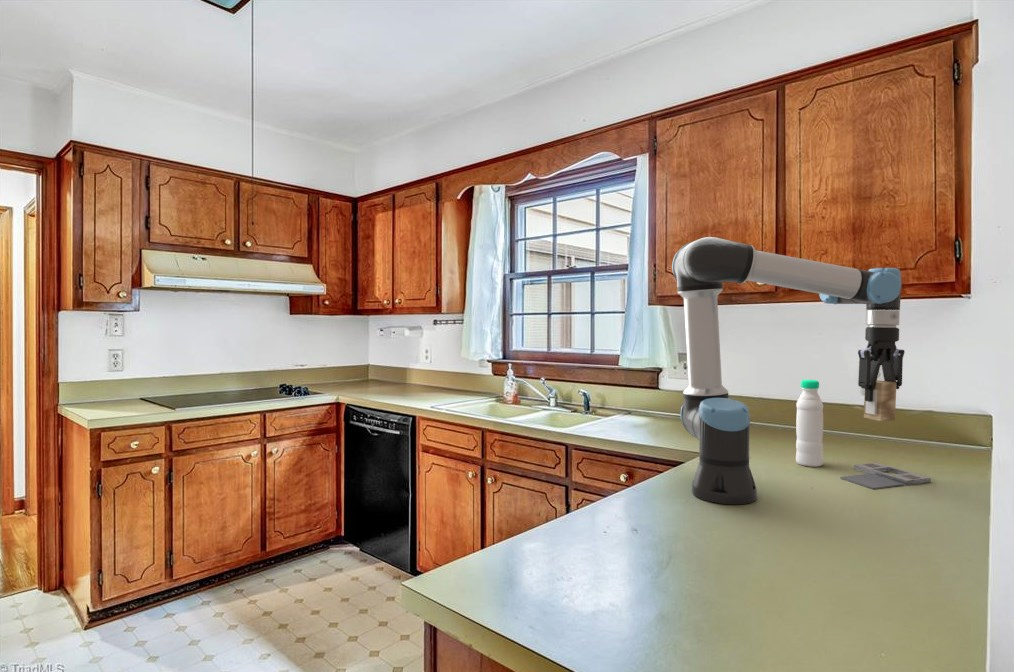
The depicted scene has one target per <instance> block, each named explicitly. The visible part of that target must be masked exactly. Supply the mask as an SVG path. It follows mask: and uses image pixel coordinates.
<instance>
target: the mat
mask: <svg viewBox="0 0 1014 672" xmlns="http://www.w3.org/2000/svg"><path fill="white" fill-rule="evenodd" d="M840 479H841V480H844V481H847V482H851V483H853V484H856V485H859V486H862V487H865V488H868V489H869V490H870V489H871V490H878V489H879V490H880V489H887V488H888V489H889V488H895V487H904V486H905V485H904V484H902V483H899V482H895V481H892V480H889V479H886V478H882V477H879V476H876V475H873V474H869V473H866V474H865V473H864V474H863V473H862V474H854V475H846V476H840Z"/></svg>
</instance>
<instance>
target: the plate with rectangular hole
mask: <svg viewBox="0 0 1014 672" xmlns="http://www.w3.org/2000/svg"><path fill="white" fill-rule="evenodd" d="M853 470H857V471H860V472H863V473H866V474H873V475H876V476H879V477H882V478H886V479H889V480H892V481H895V482H899V483H902V484H904V486H910V485H911V486H912V485H922V484H928V483H931V479H932V478H931V477H930V476H929V477H928V476H926V475H923V474H922V475H921V474H918V473H915V472H912V471H908V470H904V469H901V468H897V467H894V466H890V465H886V464H884V463H881V462H867V463H859V464H854V465H853ZM887 472H891V473H894V474H889V473H887Z"/></svg>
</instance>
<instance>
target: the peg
mask: <svg viewBox="0 0 1014 672" xmlns="http://www.w3.org/2000/svg"><path fill="white" fill-rule="evenodd" d="M874 390H877V415H874V414H869V413H865V408H866V401H865V392H864V395H863V398H864V400H863V418H864V419H868V420H873V421H877V422H885V421H886V422H887V421H889V422H890V421H895V420H896V406H897V405H896V403H897V401H896V399H897V389H896V383H895V382H887V381H884V380H878V379H877V381H876V386H875V389H874Z"/></svg>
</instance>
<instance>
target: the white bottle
mask: <svg viewBox="0 0 1014 672" xmlns="http://www.w3.org/2000/svg"><path fill="white" fill-rule="evenodd" d="M800 389H801V390H802V393H801V394H800V395H799V398H797V401H796V404H795V405H796V418H795V419H796V422H795V425H796V427H795V428H796V429H795V431H796V441H795V447H796V452H795V453H796V454H795V462H796V463H797V464H798V465H800V466H804V467H810V468H814V467H815V468H818V467H821V466H822V465H823V464H824V456H823V450H824V443H823V438H824V437H823V436H824V412H823V410H824V404H823V401H822V399H821V396H820V395H819V393H818V391H819V389H820V381H818V380H816V379H802V380H801V381H800Z"/></svg>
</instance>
